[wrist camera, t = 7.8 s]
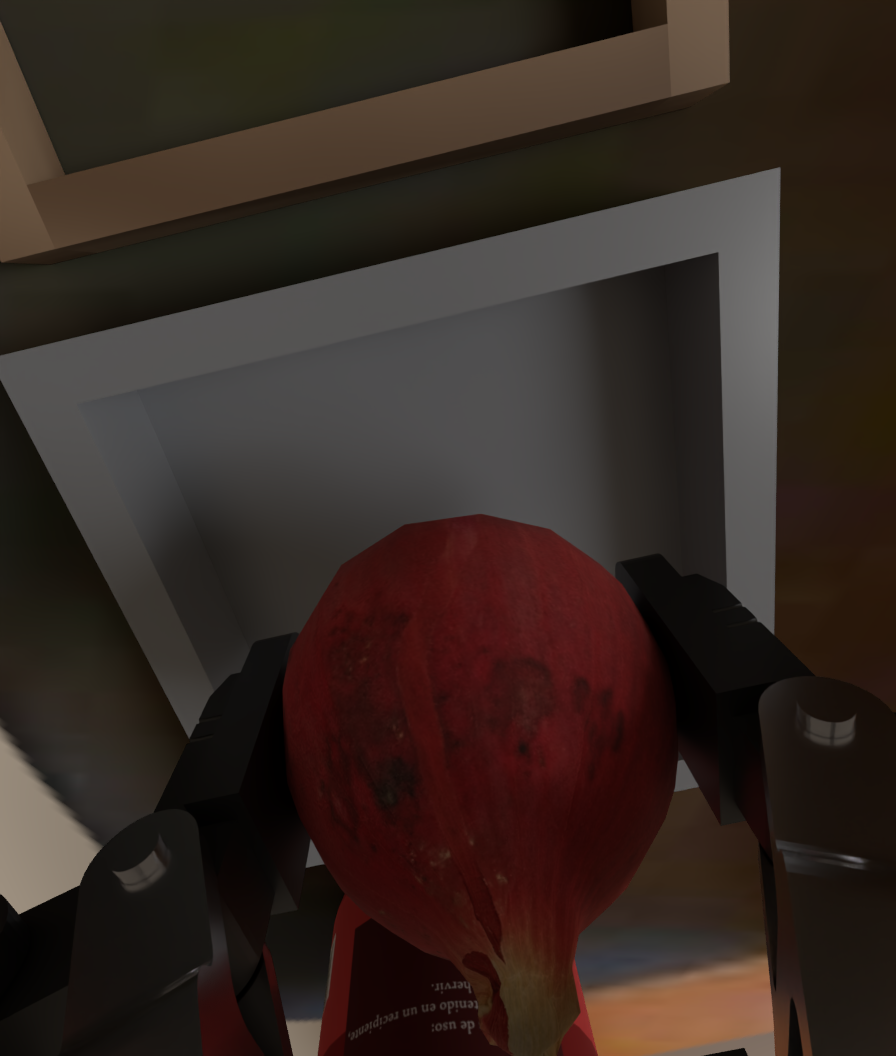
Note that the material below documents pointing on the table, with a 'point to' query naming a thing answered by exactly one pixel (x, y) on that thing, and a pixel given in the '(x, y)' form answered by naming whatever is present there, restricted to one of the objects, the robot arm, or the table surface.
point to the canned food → (407, 999)
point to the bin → (427, 420)
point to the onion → (482, 753)
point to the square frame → (348, 137)
